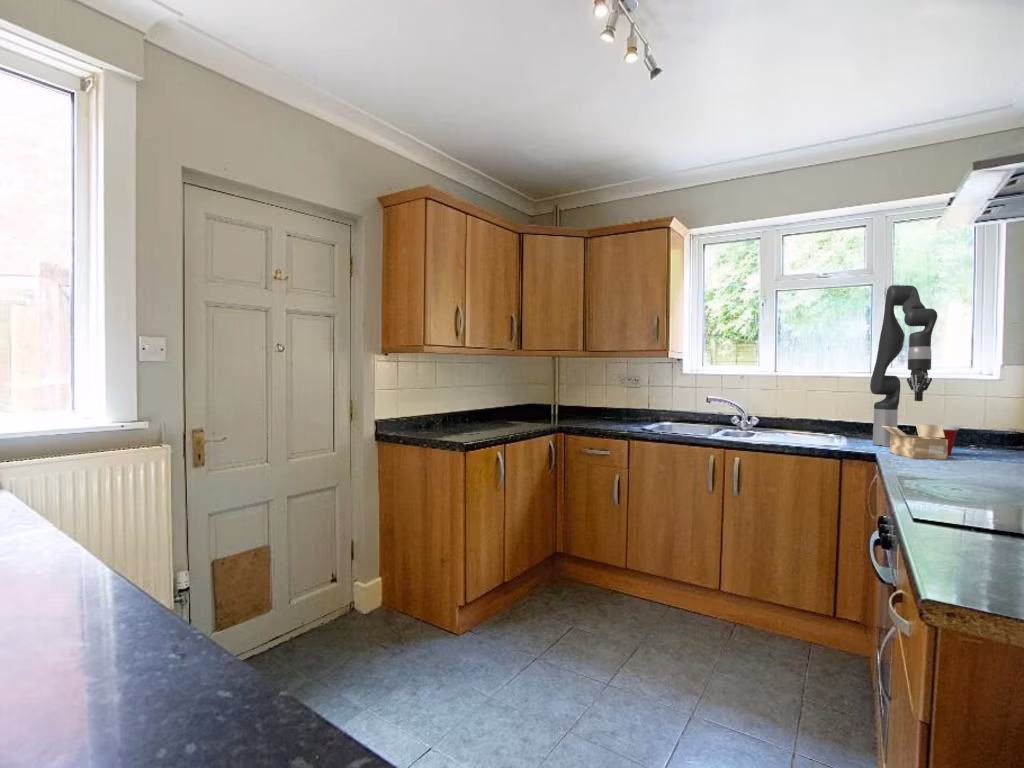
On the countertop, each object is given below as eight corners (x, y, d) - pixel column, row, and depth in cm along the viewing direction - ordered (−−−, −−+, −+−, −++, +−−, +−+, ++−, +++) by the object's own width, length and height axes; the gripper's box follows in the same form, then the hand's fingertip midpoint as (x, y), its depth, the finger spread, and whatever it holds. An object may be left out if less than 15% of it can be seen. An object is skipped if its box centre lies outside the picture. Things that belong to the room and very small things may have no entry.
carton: (889, 453, 222) (890, 434, 221) (921, 454, 220) (921, 435, 220) (913, 459, 206) (913, 438, 206) (947, 460, 204) (948, 439, 204)
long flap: (892, 433, 219) (891, 433, 220) (882, 425, 220) (881, 426, 220) (908, 435, 209) (907, 436, 209) (897, 428, 209) (896, 428, 209)
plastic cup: (928, 455, 218) (929, 426, 218) (922, 452, 228) (923, 424, 228) (962, 457, 213) (963, 427, 213) (954, 454, 223) (955, 425, 223)
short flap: (918, 436, 206) (919, 436, 205) (915, 424, 208) (916, 424, 207) (944, 437, 204) (944, 437, 204) (941, 425, 206) (941, 425, 206)
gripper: (940, 357, 206) (939, 402, 206) (919, 359, 219) (918, 400, 219) (919, 357, 207) (918, 401, 207) (899, 358, 220) (898, 400, 220)
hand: (918, 401), depth 213 cm, fingers closed
